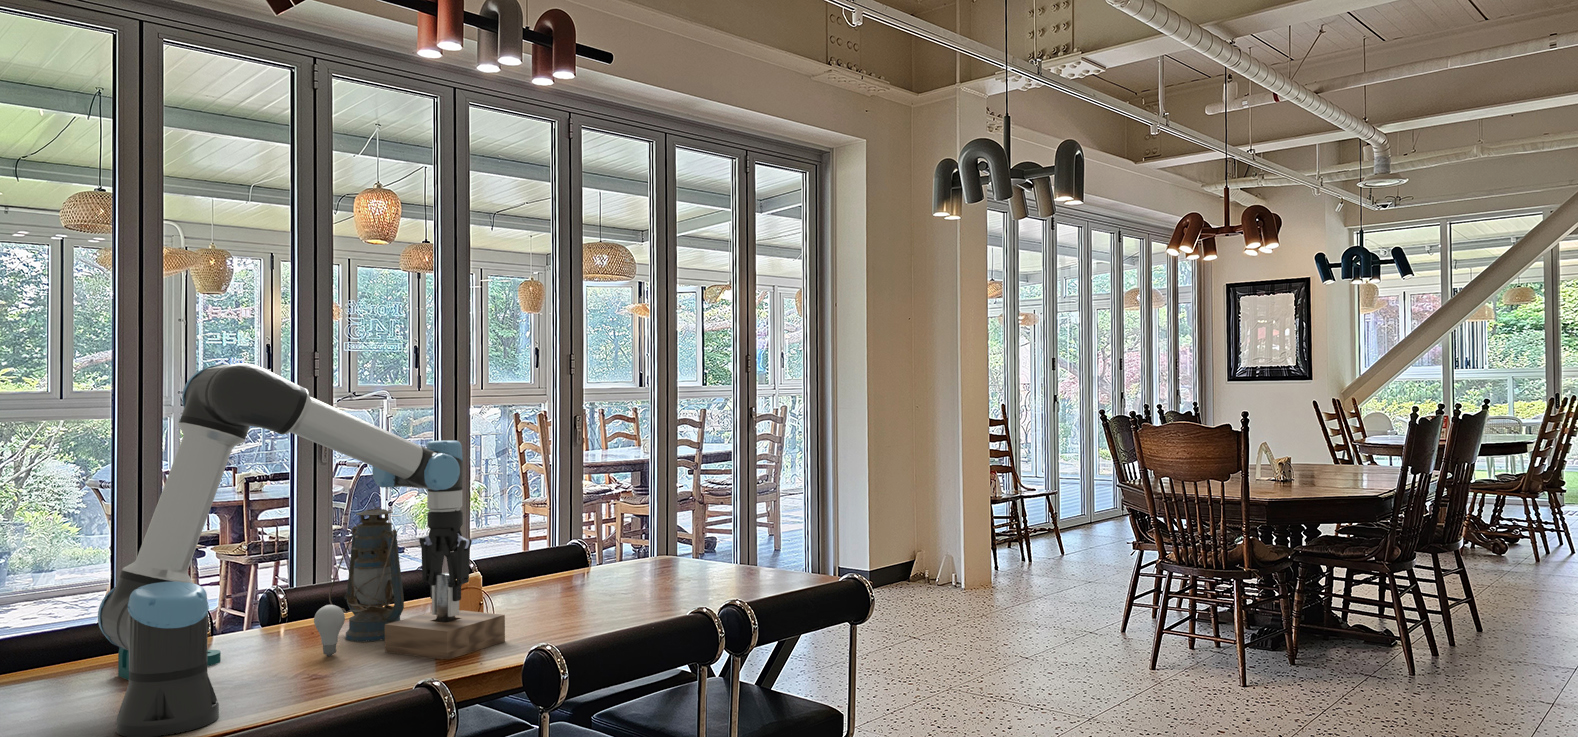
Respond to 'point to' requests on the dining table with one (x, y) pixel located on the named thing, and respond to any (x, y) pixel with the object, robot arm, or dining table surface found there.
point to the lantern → (373, 578)
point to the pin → (442, 598)
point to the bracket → (123, 661)
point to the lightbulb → (329, 626)
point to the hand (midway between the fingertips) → (445, 614)
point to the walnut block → (444, 634)
